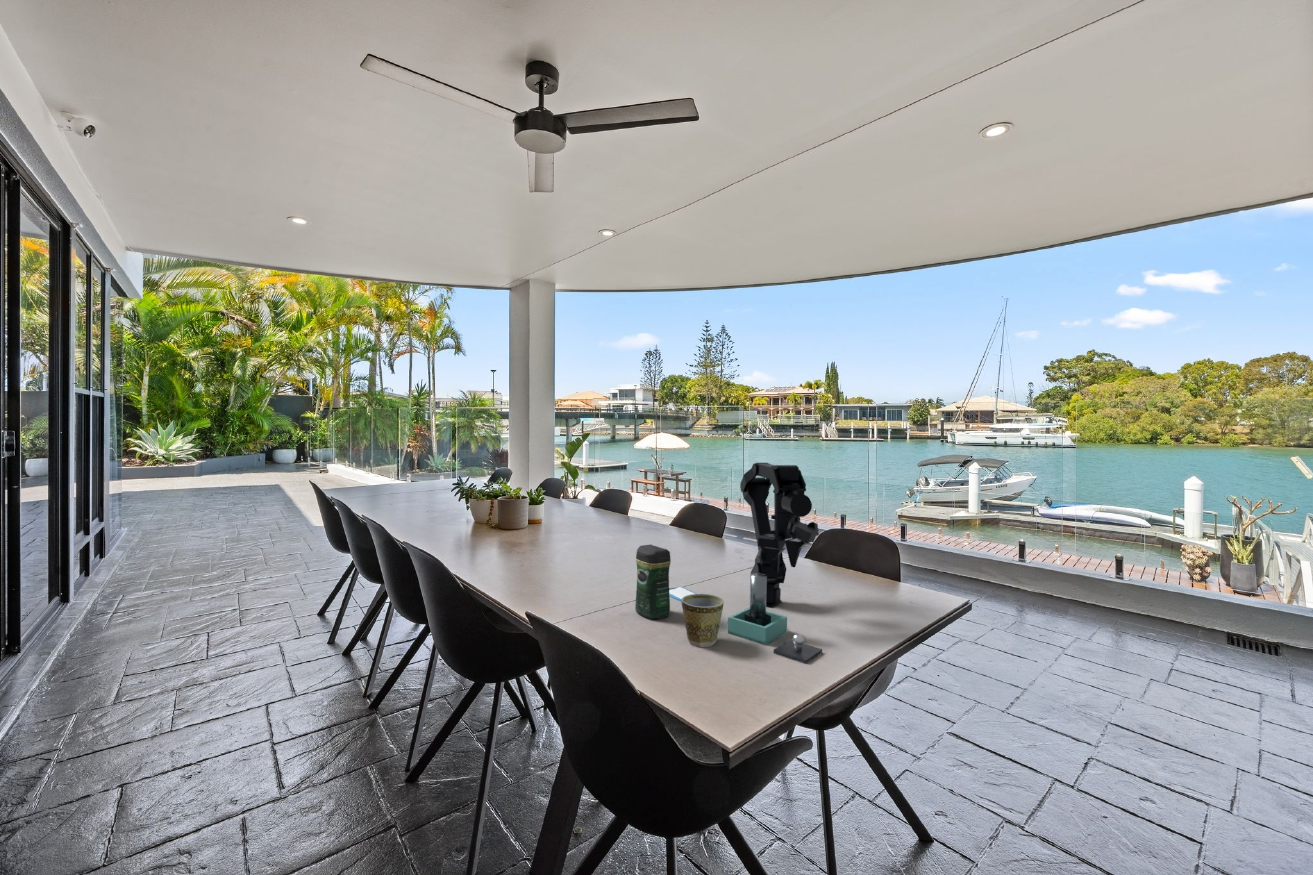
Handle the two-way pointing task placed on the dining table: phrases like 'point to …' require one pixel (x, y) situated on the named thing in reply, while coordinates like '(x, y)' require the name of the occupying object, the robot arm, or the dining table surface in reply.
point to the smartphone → (679, 593)
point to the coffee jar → (652, 581)
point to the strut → (758, 600)
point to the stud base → (798, 650)
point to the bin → (757, 627)
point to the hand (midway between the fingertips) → (784, 569)
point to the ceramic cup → (702, 618)
